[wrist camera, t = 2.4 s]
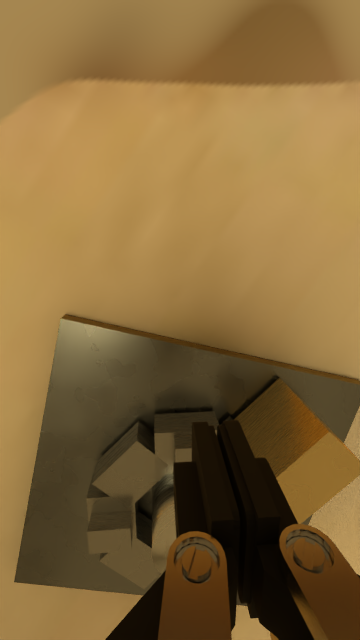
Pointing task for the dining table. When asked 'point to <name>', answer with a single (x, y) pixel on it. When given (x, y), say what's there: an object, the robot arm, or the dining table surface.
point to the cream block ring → (176, 446)
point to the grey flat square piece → (120, 416)
